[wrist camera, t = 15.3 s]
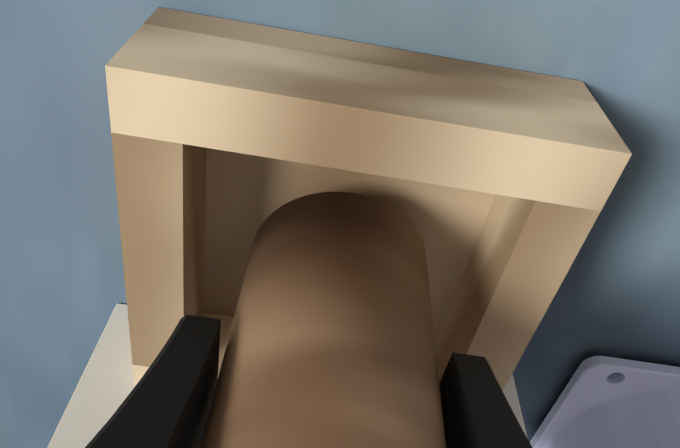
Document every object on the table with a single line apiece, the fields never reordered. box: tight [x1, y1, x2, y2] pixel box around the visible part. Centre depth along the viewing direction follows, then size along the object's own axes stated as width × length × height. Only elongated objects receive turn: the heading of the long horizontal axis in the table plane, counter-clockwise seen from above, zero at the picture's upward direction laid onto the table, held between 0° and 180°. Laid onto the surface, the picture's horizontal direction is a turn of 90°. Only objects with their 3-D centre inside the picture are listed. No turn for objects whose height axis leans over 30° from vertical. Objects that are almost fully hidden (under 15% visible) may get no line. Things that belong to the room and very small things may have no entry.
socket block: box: [105, 7, 632, 391], centre depth 14 cm, size 9×9×3 cm
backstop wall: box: [47, 303, 528, 448], centre depth 16 cm, size 12×2×5 cm, turn 81°
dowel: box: [200, 192, 446, 448], centre depth 10 cm, size 4×4×8 cm
